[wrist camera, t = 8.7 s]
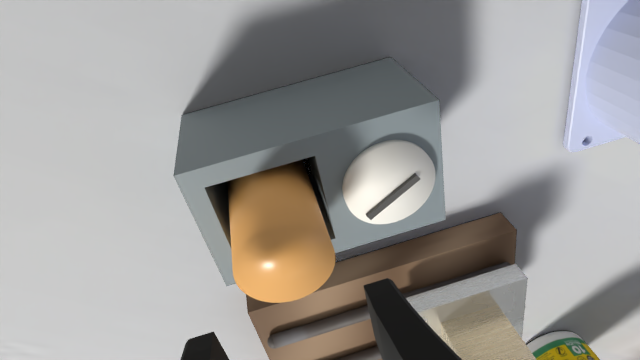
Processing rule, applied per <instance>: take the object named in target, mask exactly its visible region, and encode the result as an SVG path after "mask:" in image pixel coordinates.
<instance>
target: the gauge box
mask: <svg viewBox="0 0 640 360" xmlns="http://www.w3.org/2000/svg"><path fill="white" fill-rule="evenodd" d="M305 158H308V160H309V164H310V168H311V172H312V174H311V175H308V176H309V179H310V182H311V185H312V188H313V191H314V194H315V196H316V199H317V202H318V205H319V208H320V211H321V214H322V216H323V219H324V222H325V225H326V228H327V231H328V234H329V236H330V239H331V242H332V245H333V248H334V251H335V253H338V252H341V251H344V250H348V249H351V248H354V247H358V246H361V245H364V244H367V243H371V242H374V241H377V240H381V239H384V238H387V237H391V236H394V235H397V234H400V233H404V232H407V231H410V230H414V229H417V228H420V227H424V226H427V225H430V224H433V223H437V222H440V221H443V220H446V219H445V200H444V181H443V162H442V143H441V124H440V105H439V99H438V98H437V97H435V96H434V95H433V94H432V93H431V92H430V91H429V90H428V89H426V88H425V87H424V86H423V85H422V84H421V83H420V82H418V81H417V80H416V79H415V78H414V77H413V76H412V75H411V74H409V73H408V72H407V71H406V70H405V69H404V68H403V67H402V66H400V65H399V64H398V63H397V62H396V61H395V60H394V59H392V58H391V57H389V58H385V59H382V60H378V61H375V62H371V63H367V64H364V65H360V66H357V67H353V68H349V69H346V70H342V71H339V72H335V73H332V74H328V75H324V76H321V77H317V78H314V79H310V80H306V81H303V82H299V83H296V84H292V85H288V86H285V87H281V88H278V89H274V90H270V91H267V92H263V93H260V94H256V95H253V96H249V97H245V98H242V99H238V100H235V101H231V102H227V103H224V104H220V105H217V106H213V107H209V108H206V109H202V110H199V111H195V112H191V113H188V114H184V115H182V117H181V125H180V132H179V140H178V147H177V154H176V162H175V169H174V178H175V180H176V182H177V184H178V186H179V188H180V190H181V192H182V194H183V196H184V199H185V201H186V203H187V205H188V207H189V209H190V211H191V213H192V215H193V217H194V219H195V221H196V223H197V226H198V228H199V230H200V232H201V234H202V236H203V238H204V240H205V242H206V244H207V246H208V248H209V250H210V253H211V255H212V257H213V259H214V261H215V263H216V265H217V267H218V269H219V271H220V273H221V275H222V277H223V280H224V282H225V284H226V286H229V285H232V284H236V282H235V280H234V277H233V269H232V252H231V235H230V217H229V200H228V183H227V181H229V180H233V179H236V178H240V177H243V176H247V175H250V174H254V173H257V172H260V171H264V170H267V169H271V168H274V167H278V166H281V165H285V164H288V163H292V162H295V161H298V160H302V159H305Z"/></svg>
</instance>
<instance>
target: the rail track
mask: <svg viewBox="0 0 640 360" xmlns="http://www.w3.org/2000/svg"><path fill="white" fill-rule="evenodd" d="M516 235H517V230H516V229H515V228H514V226H513V225H512V224H511V223H510V222H509V221H508V220H507V219H506V218H505V217H504V216H503V215H502V213H497V214H494V215H491V216H488V217H484V218H481V219H478V220H474V221H471V222H468V223H465V224H461V225H458V226H455V227H451V228H448V229H445V230H442V231H438V232H435V233H432V234H428V235H425V236H422V237H419V238H415V239H412V240H409V241H405V242H402V243H399V244H396V245H392V246H389V247H386V248H382V249H379V250H376V251H373V252H369V253H366V254H363V255H359V256H356V257H353V258H350V259H346V260H343V261H340V262H336V263H335V266H334V269H333V271H332V273H331V275H330V277H329V278H328V280H327V281H326V282H325V283H324V284H323V285H322V286H321V287H320V288H319V289H317V290H316V291H315V292H313V293H311V294H309V295H307V296H305V297H303V298H300V299H298V300H294V301H290V302H282V303H271V302H264V301H260V300H257V299H254V298H252V297H250V296H248V295H247V294H246V298H247V309H248V314H249V316H250V319H251V321H252V323H253V325H254V327H255V329H256V331H257V334H258V336H259V338H260V340H261V342H262V344H263V347H264V349H265V351H266V353H267V355H268V357H269V359H270V360H382V357H381V354H380V351H379V348H378V345H377V342H376V340H375V337H374V332H373V327H372V323H371V318H370V314H369V309H368V304H367V300H366V295H365V291H364V286H363V285H366V284H370V283H373V282H376V281H379V280H383V279H386V278H389V279H391V280H393V282H394V283H395V285H396V286H397V288H398V289H399V290H400V292H401V293H402V294H403V296H404V297H405V298H408V297H411V296H414V295H417V294H420V293H424V292H427V291H430V290H433V289H436V288H440V287H443V286H446V285H449V284H452V283H456V282H459V281H462V280H465V279H468V278H472V277H475V276H478V275H481V274H484V273H488V272H491V271H494V270H497V269H500V268H504V267H507V266H510V265H513V264H514V263H515V249H516Z"/></svg>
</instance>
